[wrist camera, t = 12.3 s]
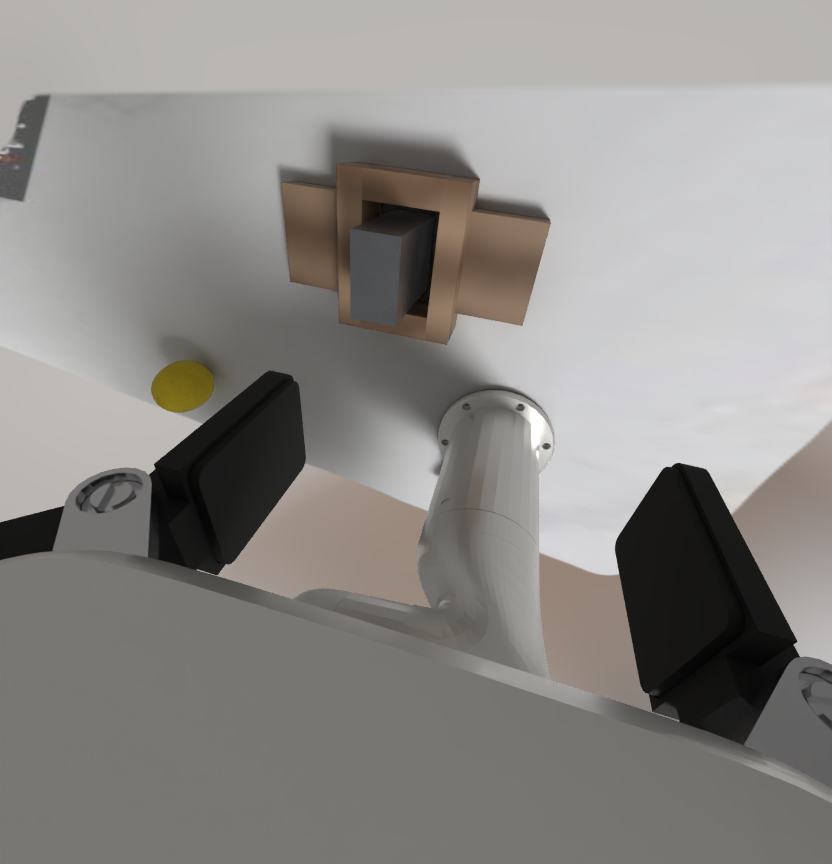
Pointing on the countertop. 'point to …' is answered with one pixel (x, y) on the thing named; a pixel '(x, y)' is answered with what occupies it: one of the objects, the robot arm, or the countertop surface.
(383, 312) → the bracket
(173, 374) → the lemon
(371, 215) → the socket
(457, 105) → the countertop surface
